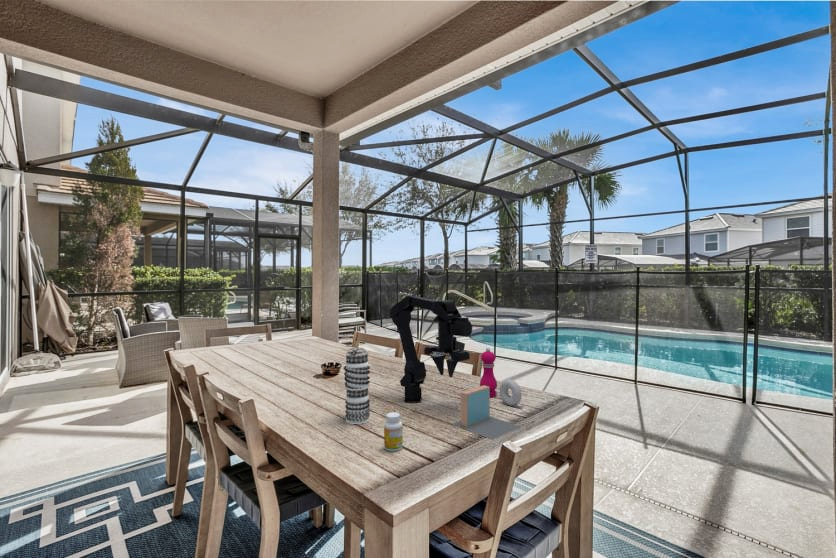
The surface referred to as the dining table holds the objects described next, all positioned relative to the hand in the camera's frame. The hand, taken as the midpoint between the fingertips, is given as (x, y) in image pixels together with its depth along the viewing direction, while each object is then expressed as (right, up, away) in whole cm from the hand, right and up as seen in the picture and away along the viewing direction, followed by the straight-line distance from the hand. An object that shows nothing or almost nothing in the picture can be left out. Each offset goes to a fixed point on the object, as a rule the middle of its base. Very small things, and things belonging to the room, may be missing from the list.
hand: (446, 376), depth 141 cm
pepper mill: (+19, -13, +18) cm, 29 cm away
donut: (+25, -13, +5) cm, 29 cm away
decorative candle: (-32, -14, -8) cm, 36 cm away
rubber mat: (+12, -13, -15) cm, 23 cm away
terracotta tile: (+9, -13, -12) cm, 20 cm away
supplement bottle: (-18, -14, -30) cm, 37 cm away
